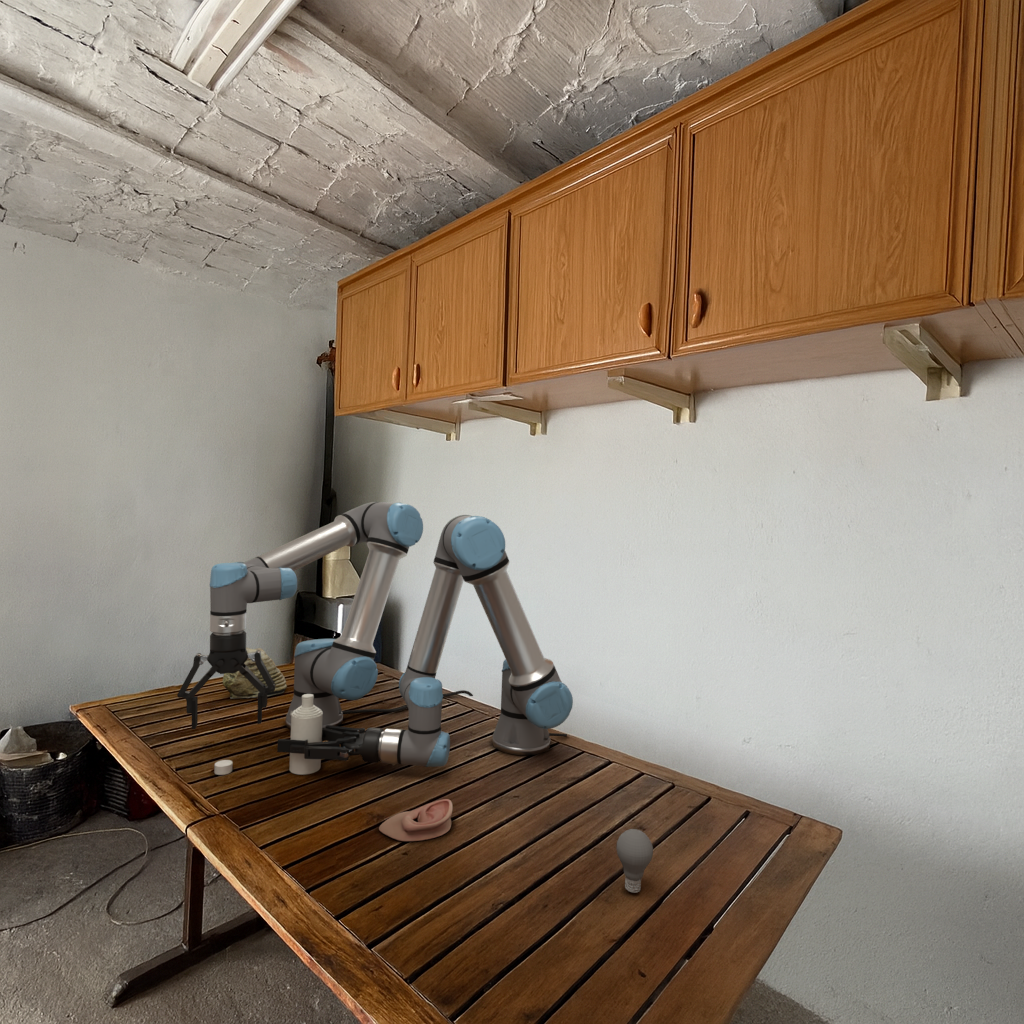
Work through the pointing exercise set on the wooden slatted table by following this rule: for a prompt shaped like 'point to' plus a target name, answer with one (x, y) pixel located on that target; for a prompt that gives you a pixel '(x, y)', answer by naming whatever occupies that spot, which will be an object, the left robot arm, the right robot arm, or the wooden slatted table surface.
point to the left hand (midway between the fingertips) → (227, 724)
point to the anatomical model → (420, 822)
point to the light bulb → (634, 857)
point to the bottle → (305, 734)
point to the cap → (223, 767)
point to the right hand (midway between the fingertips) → (285, 739)
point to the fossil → (242, 686)
